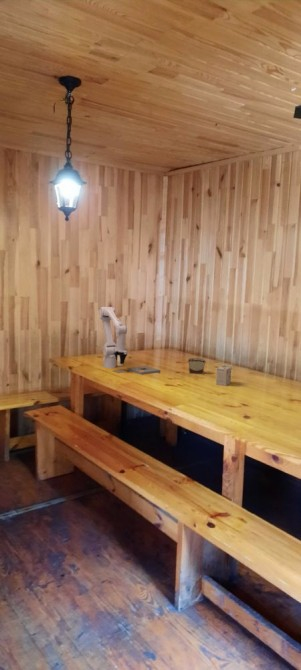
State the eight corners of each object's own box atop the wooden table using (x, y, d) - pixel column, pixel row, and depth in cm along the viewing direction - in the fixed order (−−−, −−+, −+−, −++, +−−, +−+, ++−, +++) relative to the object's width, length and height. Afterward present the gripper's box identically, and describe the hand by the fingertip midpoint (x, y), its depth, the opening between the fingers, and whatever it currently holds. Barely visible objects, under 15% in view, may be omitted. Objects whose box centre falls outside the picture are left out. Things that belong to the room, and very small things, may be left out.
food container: (205, 372, 342) (205, 358, 341) (205, 374, 336) (205, 360, 335) (187, 371, 343) (188, 357, 342) (187, 373, 337) (187, 359, 336)
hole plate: (127, 371, 336) (127, 367, 335) (146, 369, 345) (146, 365, 345) (141, 376, 323) (141, 372, 323) (160, 373, 333) (160, 369, 333)
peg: (116, 365, 330) (116, 354, 330) (120, 364, 333) (121, 354, 332) (119, 366, 327) (119, 355, 326) (124, 365, 330) (124, 355, 329)
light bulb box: (220, 381, 316) (221, 365, 314) (231, 382, 313) (232, 366, 311) (215, 384, 306) (216, 367, 305) (226, 386, 303) (226, 369, 302)
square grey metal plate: (111, 372, 331) (111, 370, 331) (121, 371, 336) (121, 369, 336) (118, 374, 325) (118, 373, 325) (128, 373, 330) (128, 371, 330)
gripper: (109, 342, 331) (109, 361, 333) (121, 345, 320) (121, 365, 322) (118, 341, 336) (118, 360, 337) (130, 344, 324) (130, 364, 326)
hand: (120, 363), depth 330 cm, fingers closed on peg, 4 cm apart
